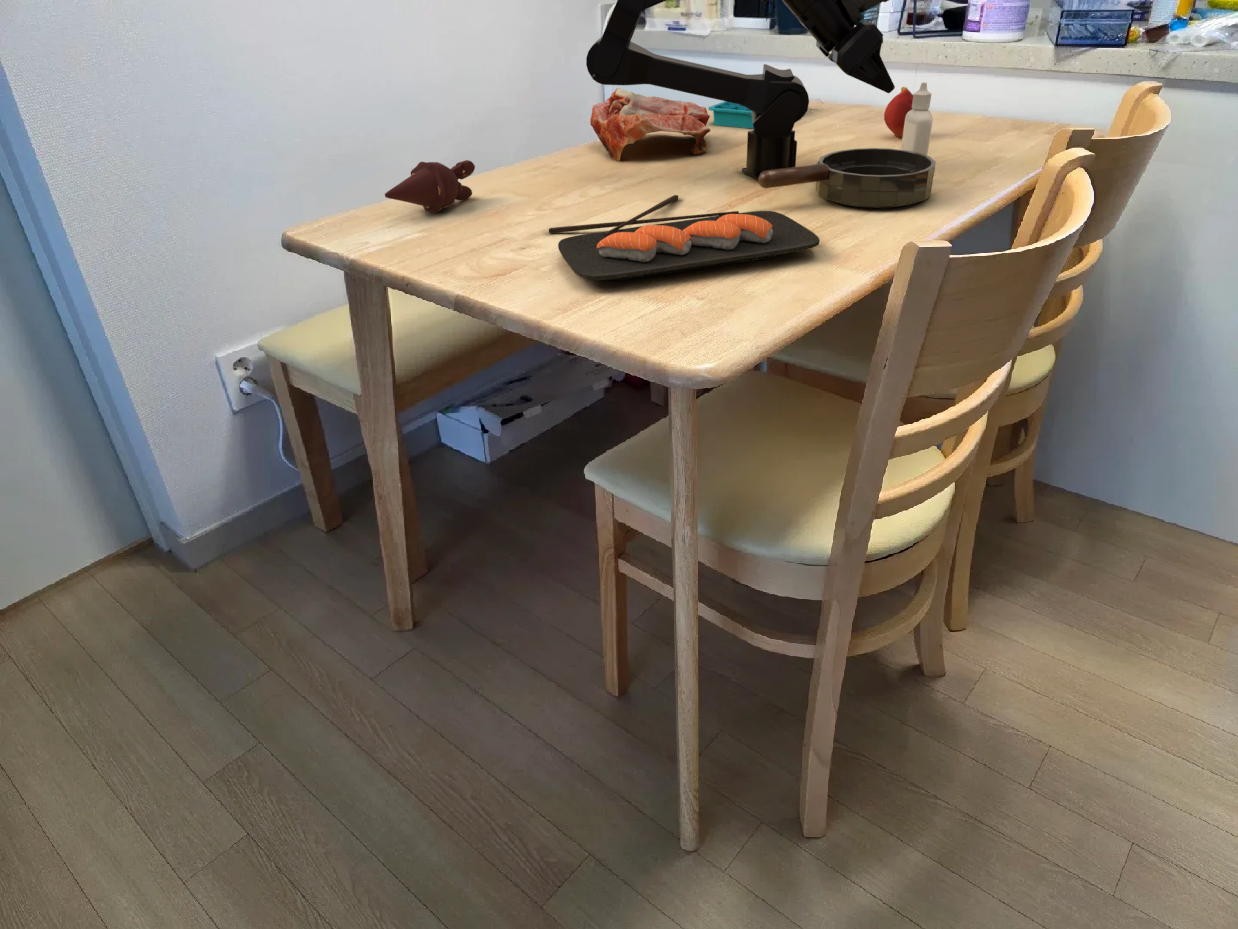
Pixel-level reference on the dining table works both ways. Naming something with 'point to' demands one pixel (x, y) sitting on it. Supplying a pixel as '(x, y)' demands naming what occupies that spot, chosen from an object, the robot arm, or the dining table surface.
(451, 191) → the icecream
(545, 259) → the dining table surface
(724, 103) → the ice cube tray
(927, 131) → the eye dropper bottle
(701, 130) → the meat
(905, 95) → the onion
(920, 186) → the dark frying pan
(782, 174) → the handle
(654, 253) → the sushi plate
